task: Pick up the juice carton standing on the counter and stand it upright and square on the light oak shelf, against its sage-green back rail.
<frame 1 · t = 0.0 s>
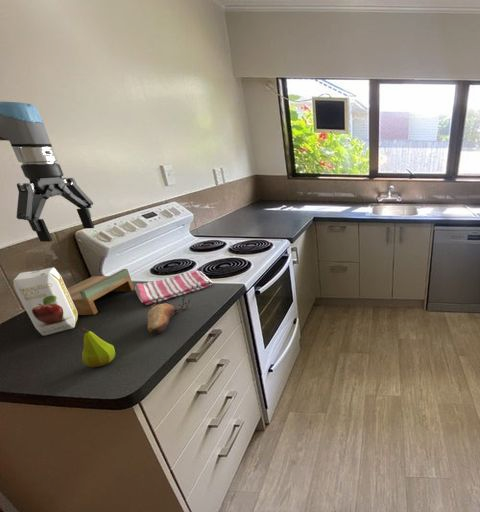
hand: (69, 234, 90), 28 cm above the countertop, tool pointing down, fingers open, 13 cm apart
vegetable: (170, 323, 93), on the countertop
shelf: (96, 301, 105), on the countertop
dish towel: (176, 289, 115), on the countertop
fruit: (103, 364, 76), on the countertop
juice carton: (61, 327, 91), on the countertop
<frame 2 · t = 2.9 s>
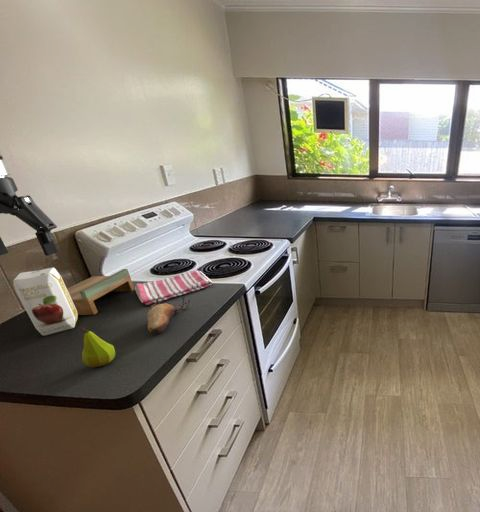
hand: (26, 254, 82), 25 cm above the countertop, tool pointing down, fingers open, 13 cm apart
nothing on the countertop moved.
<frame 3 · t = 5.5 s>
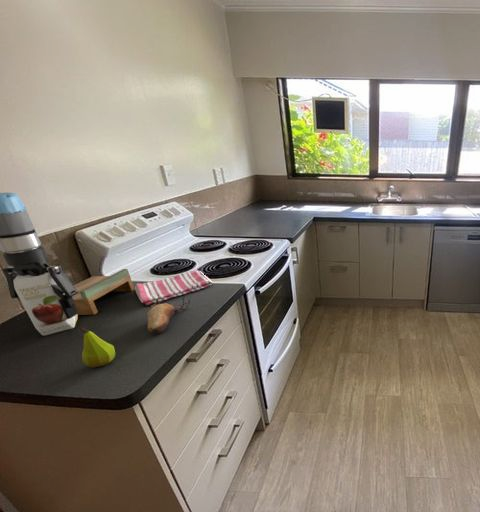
hand: (55, 316, 89), 4 cm above the countertop, tool pointing down, fingers closed on juice carton, 9 cm apart
juice carton: (61, 327, 91), on the countertop, touching gripper
everything else where it was.
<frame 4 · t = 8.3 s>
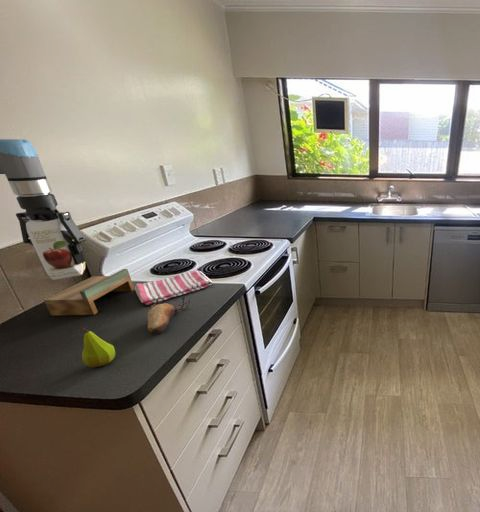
hand: (64, 263, 94), 18 cm above the countertop, tool pointing down, fingers closed on juice carton, 9 cm apart
juice carton: (70, 274, 96), point 13 cm above the countertop, touching gripper
everything else where it was.
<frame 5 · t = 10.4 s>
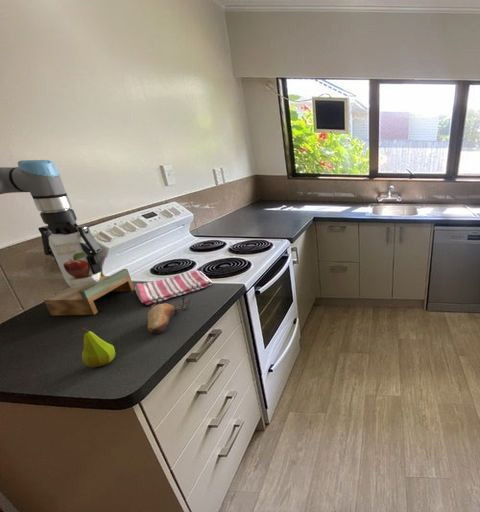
hand: (82, 272, 101), 12 cm above the countertop, tool pointing down, fingers closed on juice carton, 9 cm apart
juice carton: (87, 283, 103), point 7 cm above the countertop, touching gripper
everything else where it was.
when the fingers open (10 cm above the countertop, at t = 11.5 s): juice carton stays where it is, resting on shelf.
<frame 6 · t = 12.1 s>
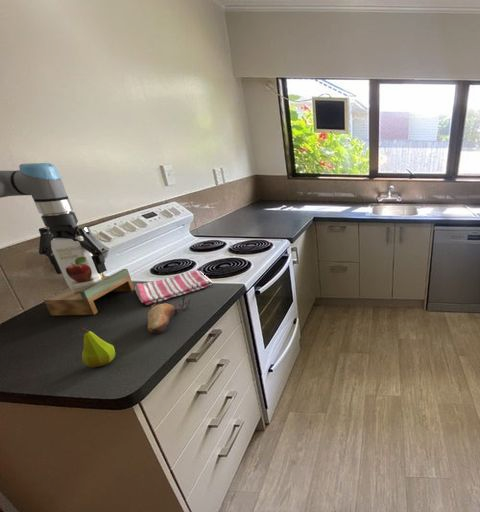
hand: (82, 272, 101), 12 cm above the countertop, tool pointing down, fingers open, 13 cm apart
juice carton: (89, 287, 103), point 6 cm above the countertop, touching shelf
everything else where it was.
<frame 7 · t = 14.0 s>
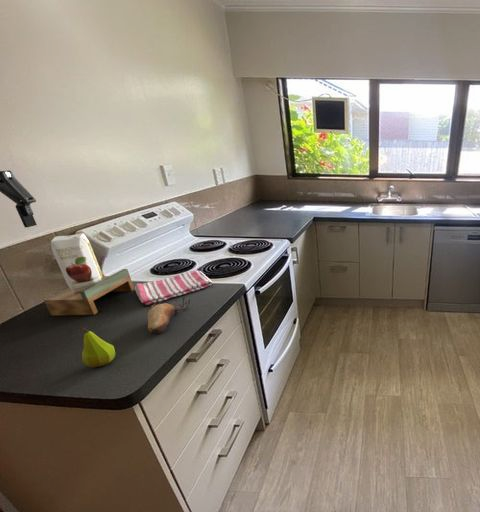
hand: (7, 226, 88), 31 cm above the countertop, tool pointing down, fingers open, 13 cm apart
nothing on the countertop moved.
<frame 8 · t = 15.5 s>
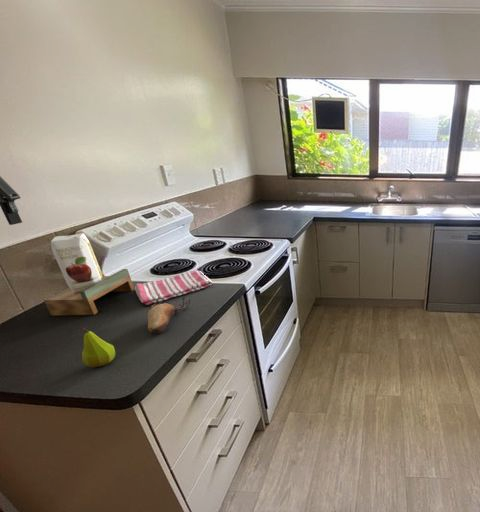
nothing on the countertop moved.
at the end: juice carton inside the target area on the shelf (0.2 cm from its centre), point 5.8 cm above the shelf's base; juice carton tilted 0° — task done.
